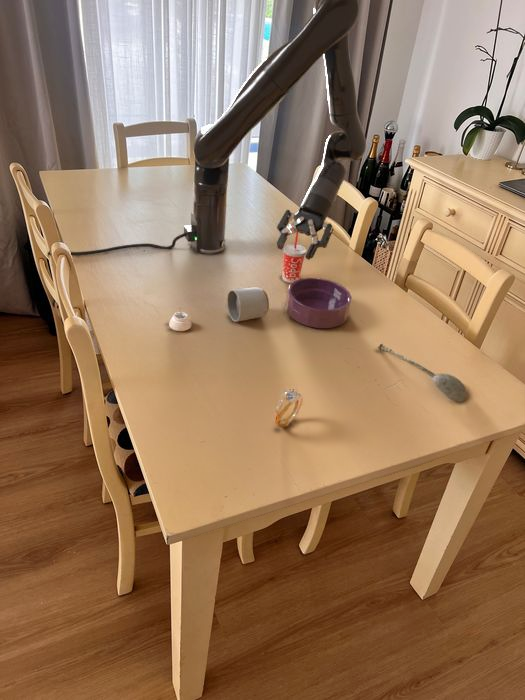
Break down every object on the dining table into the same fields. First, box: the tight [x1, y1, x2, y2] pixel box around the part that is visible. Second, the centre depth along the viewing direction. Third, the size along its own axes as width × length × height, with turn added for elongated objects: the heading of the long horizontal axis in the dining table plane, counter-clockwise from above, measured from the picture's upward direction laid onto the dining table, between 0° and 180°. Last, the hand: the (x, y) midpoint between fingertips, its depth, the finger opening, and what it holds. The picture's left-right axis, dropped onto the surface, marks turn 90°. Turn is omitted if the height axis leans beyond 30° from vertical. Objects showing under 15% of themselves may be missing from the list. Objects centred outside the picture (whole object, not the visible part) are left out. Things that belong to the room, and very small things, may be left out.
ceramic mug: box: [226, 287, 270, 323], centre depth 123 cm, size 11×8×8 cm
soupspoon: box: [377, 343, 468, 403], centre depth 112 cm, size 22×3×7 cm
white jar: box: [168, 311, 193, 332], centre depth 117 cm, size 5×3×5 cm
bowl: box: [285, 277, 352, 329], centre depth 127 cm, size 15×15×6 cm
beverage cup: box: [281, 231, 307, 284], centre depth 137 cm, size 6×6×14 cm
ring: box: [273, 388, 304, 429], centre depth 94 cm, size 7×3×8 cm, turn 135°
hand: (293, 253), depth 135 cm, fingers open, 8 cm apart
